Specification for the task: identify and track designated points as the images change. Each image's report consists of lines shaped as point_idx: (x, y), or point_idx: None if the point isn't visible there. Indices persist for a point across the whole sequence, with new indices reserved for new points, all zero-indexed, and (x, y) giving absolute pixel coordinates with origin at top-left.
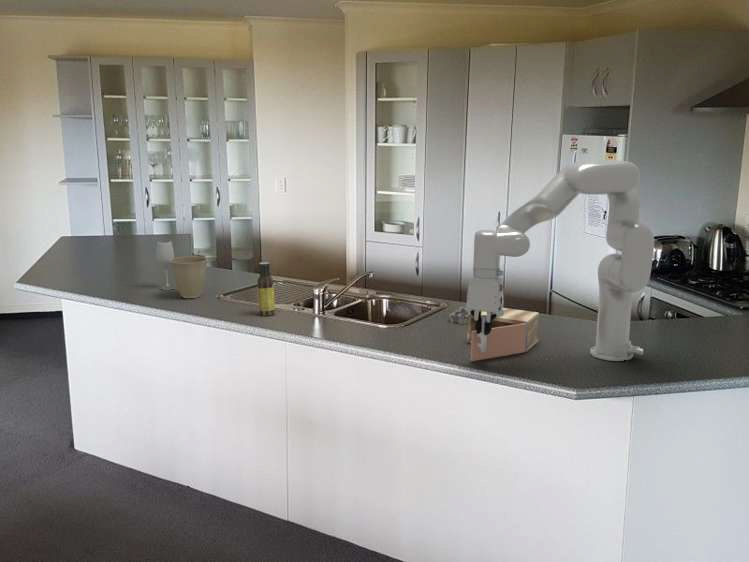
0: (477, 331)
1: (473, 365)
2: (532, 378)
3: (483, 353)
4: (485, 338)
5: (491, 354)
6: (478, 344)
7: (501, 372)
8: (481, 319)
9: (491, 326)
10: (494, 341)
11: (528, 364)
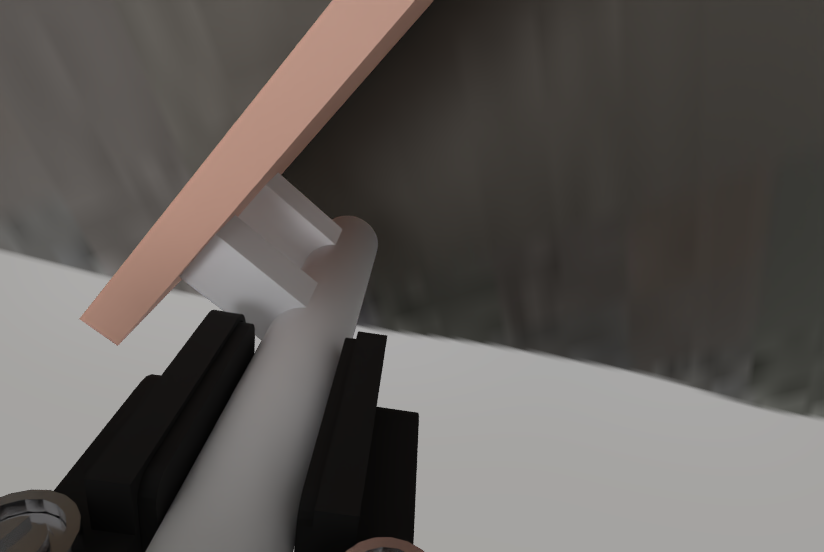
0: None
1: None
2: (785, 378)
3: (330, 116)
4: None
5: (403, 34)
6: (265, 235)
7: (548, 333)
8: (136, 544)
9: (416, 466)
10: (422, 5)
11: (794, 63)
